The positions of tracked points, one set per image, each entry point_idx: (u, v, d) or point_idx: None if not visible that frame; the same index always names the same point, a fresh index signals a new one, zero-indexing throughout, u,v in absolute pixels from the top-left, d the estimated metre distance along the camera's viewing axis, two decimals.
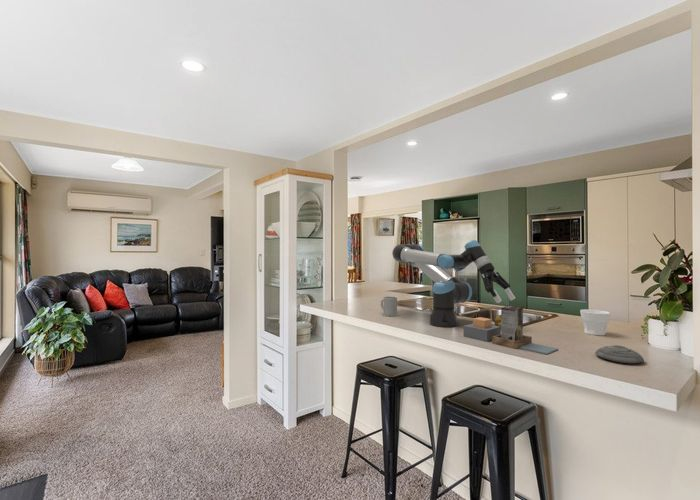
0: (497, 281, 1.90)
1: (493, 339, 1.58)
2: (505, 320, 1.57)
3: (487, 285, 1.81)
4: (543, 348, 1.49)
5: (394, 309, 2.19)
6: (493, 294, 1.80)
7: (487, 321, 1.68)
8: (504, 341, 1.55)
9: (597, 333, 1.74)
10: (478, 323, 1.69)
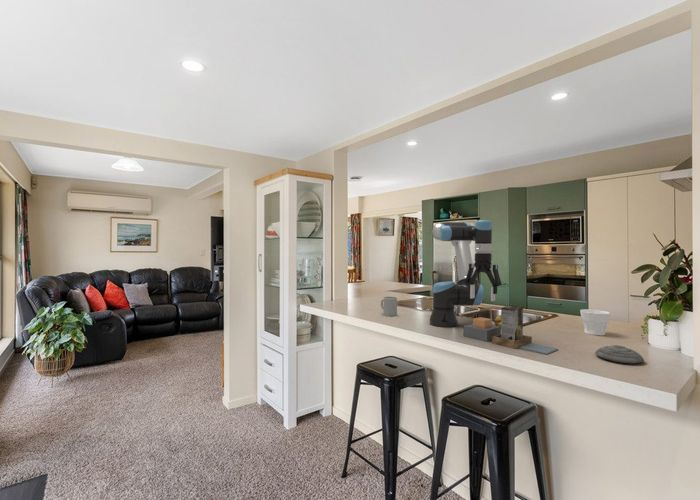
0: None
1: (493, 339, 1.58)
2: (505, 320, 1.57)
3: None
4: (543, 348, 1.49)
5: (394, 309, 2.19)
6: None
7: (487, 321, 1.68)
8: (504, 341, 1.55)
9: (597, 333, 1.74)
10: (478, 323, 1.69)
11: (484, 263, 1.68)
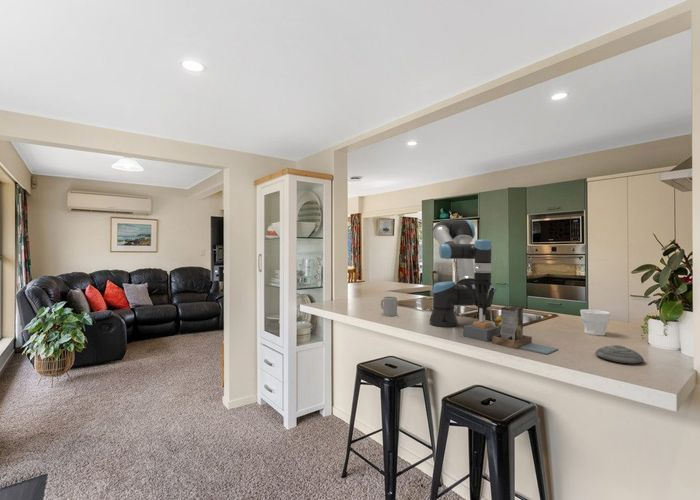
0: None
1: (493, 339, 1.58)
2: (505, 320, 1.57)
3: None
4: (543, 348, 1.49)
5: (394, 309, 2.19)
6: None
7: (487, 324, 1.68)
8: (504, 341, 1.55)
9: (597, 333, 1.74)
10: None
11: (485, 281, 1.68)
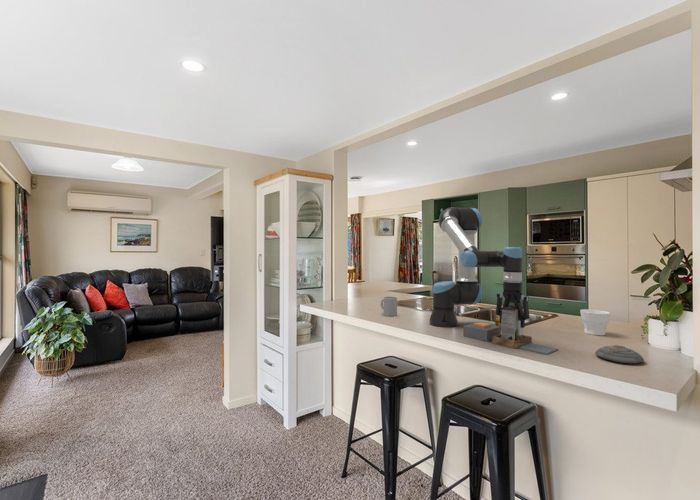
0: None
1: (493, 339, 1.58)
2: (505, 320, 1.57)
3: None
4: (543, 348, 1.49)
5: (394, 309, 2.19)
6: (500, 321, 1.63)
7: (487, 326, 1.68)
8: (504, 341, 1.55)
9: (597, 333, 1.74)
10: None
11: (514, 292, 1.57)
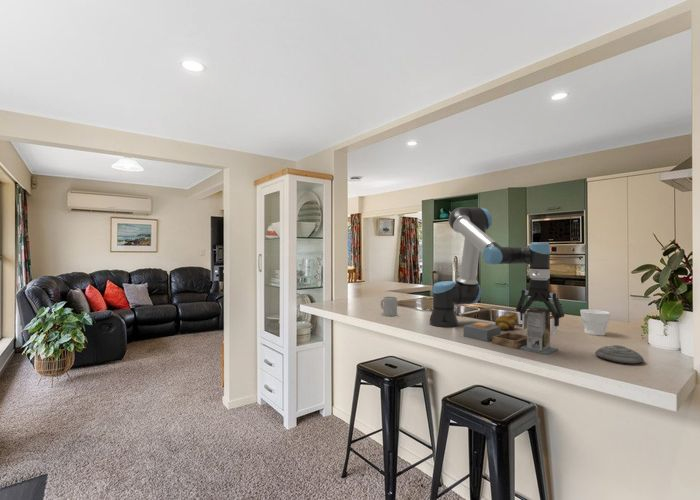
0: None
1: (493, 339, 1.58)
2: (531, 323, 1.48)
3: None
4: None
5: (394, 309, 2.19)
6: None
7: (487, 326, 1.68)
8: (504, 341, 1.55)
9: (597, 333, 1.74)
10: None
11: (541, 291, 1.48)
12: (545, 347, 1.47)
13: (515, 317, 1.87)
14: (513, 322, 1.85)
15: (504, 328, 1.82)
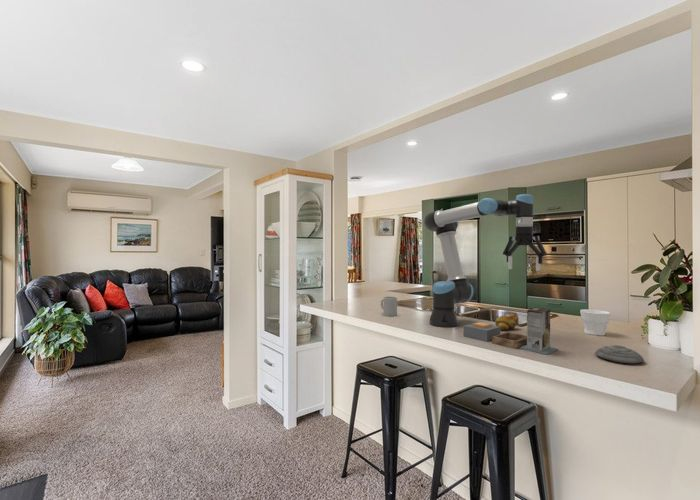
0: None
1: (493, 339, 1.58)
2: (532, 323, 1.48)
3: None
4: None
5: (394, 309, 2.19)
6: (507, 260, 1.81)
7: (487, 326, 1.68)
8: (504, 341, 1.55)
9: (597, 333, 1.74)
10: None
11: (525, 237, 1.73)
12: (545, 347, 1.47)
13: (515, 317, 1.86)
14: (513, 322, 1.84)
15: (504, 328, 1.82)
